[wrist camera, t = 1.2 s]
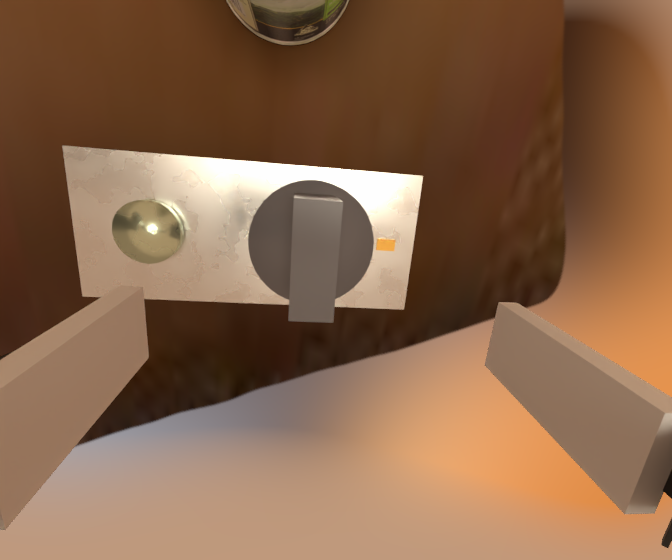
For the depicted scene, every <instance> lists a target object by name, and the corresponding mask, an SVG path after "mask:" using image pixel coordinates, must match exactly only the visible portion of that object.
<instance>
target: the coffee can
mask: <svg viewBox="0 0 672 560" xmlns="http://www.w3.org/2000/svg"><path fill="white" fill-rule="evenodd" d="M226 1H227V3H228V5H229V6H230V8H231V10H232V11H233V13H234V14H235V15H236V17H237V18H238V19H239V20H240V21H241V22H242V23H243V24H244V25H245V26H246V27H247V28H248V29H249V30H250V31H252V32H253V33H254V34H256V35H257V36H259V37H261V38H263V39H265V40H267V41H270V42H272V43H276V44H281V45H300V44H305V43H309V42H311V41H314V40H316V39H318V38H319V37H321V36H323V35H324V34H325V33H327V32H328V31H329V30H330V29H331V28H332V27H333V26H334V25H335V24H336V23H337V21H338V20H339V18H340V17H341V16H342V14H343V12H344V11H345V9H346V7H347V4H348V2H349V0H226Z"/></svg>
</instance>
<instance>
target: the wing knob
mask: <svg viewBox="0 0 672 560" xmlns="http://www.w3.org/2000/svg"><path fill="white" fill-rule="evenodd" d="M248 248H249V254H250V259H251V262H252V265H253V267H254V269H255V271H256V273H257V274H258V276H259V277H260V279H261V280H262V281H263V282H264V283H265V285H266V286H267V287H269V288H270V289H271V290H272V291H273V292H275V293H276V294H278V295H279V296H281V297H283V298H285V299H288V300H289V318H288V321H300V322H328V323H333V320H334V308H335V299H337V298H339V297H341V296H343V295H344V294H346V293H347V292H349V291H350V290H351V289H353V288H354V287H355V286H356V285H357V284H358V283H359V281H360V280H361V279H362V278H363V276H364V274H365V273H366V271H367V269H368V267H369V265H370V262H371V259H372V255H373V249H374V237H373V230H372V225H371V223H370V220H369V217H368V215H367V213H366V211H365V210H364V208H363V207H362V205H361V204H360V203H359V202H358V201H357V200H356V199H355V197H353V196H352V195H351V194H350V193H348V192H347V191H345V190H344V189H342V188H341V187H338V186H336V185H334V184H331V183H328V182H325V181H320V180H300V181H296V182H292V183H289V184H287V185H285V186H283V187H281V188H279V189H277V190H276V191H275V192H273V193H272V194H271V195H270V196H268V197H267V198H266V199H265V201H264V202H263V203H262V204H261V205H260V207H259V208H258V209H257V211H256V213H255V215H254V217H253V220H252V222H251V225H250V230H249V236H248Z"/></svg>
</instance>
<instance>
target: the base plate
mask: <svg viewBox="0 0 672 560" xmlns="http://www.w3.org/2000/svg"><path fill="white" fill-rule="evenodd" d="M62 147H63V154H64V162H65V169H66V177H67V184H68V192H69V199H70V207H71V214H72V222H73V229H74V237H75V244H76V252H77V259H78V267H79V274H80V282H81V289H82V296H84V297H102V296H104V295H106V294H107V293H109V292H111V291H112V290H114V289H115V288H117V287H119V286H136V287H143V293H144V299H158V300H182V301H207V302H232V303H256V304H281V305H289V300H288V299H285V298H283V297H281V296H279V295H278V294H276V293H275V292H273V291H272V290H271V289H270V288H269V287H267V286H266V285H265V283H264V282H263V281H262V280H261V279H260V277H259V276H258V274H257V273H256V271H255V269H254V267H253V265H252V262H251V259H250V254H249V248H248V236H249V230H250V225H251V222H252V220H253V217H254V215H255V213H256V211H257V209H258V208H259V207H260V205H261V204H262V203H263V202H264V201H265V199H266V198H267V197H268V196H270V195H271V194H272V193H273V192H275V191H276V190H277V189H279V188H281V187H283V186H285V185H287V184H289V183H292V182H296V181H300V180H320V181H325V182H328V183H331V184H334V185H336V186H338V187H341V188H342V189H344V190H345V191H347V192H348V193H350V194H351V195H352V196H353V197H355V199H356V200H357V201H358V202H359V203H360V204H361V205H362V207H363V208H364V210H365V211H366V213H367V215H368V217H369V220H370V223H371V225H372V230H373V237H374V249H373V255H372V259H371V262H370V265H369V267H368V269H367V271H366V273H365V274H364V276H363V278H362V279H361V280H360V281H359V283H358V284H357V285H356V286H355V287H354V288H353V289H351V290H350V291H349V292H347V293H346V294H344V295H343V296H341V297H339V298H337V299H335V307H355V308H379V309H404V306H405V299H406V292H407V285H408V278H409V271H410V264H411V257H412V250H413V243H414V236H415V229H416V222H417V215H418V208H419V201H420V194H421V187H422V180H423V176H418V175H406V174H394V173H382V172H370V171H358V170H347V169H335V168H323V167H311V166H299V165H287V164H275V163H263V162H251V161H240V160H228V159H216V158H204V157H192V156H180V155H168V154H156V153H145V152H133V151H121V150H109V149H97V148H85V147H73V146H62Z"/></svg>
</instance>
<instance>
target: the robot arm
mask: <svg viewBox="0 0 672 560" xmlns="http://www.w3.org/2000/svg"><path fill="white" fill-rule="evenodd" d="M148 358H149V353H148V341H147V329H146V317H145V305H144V293H143V287H136V286H119V287H117V288H115V289H114V290H112V291H111V292H109V293H107V294H106V295H104V296H102V297H101V298H99V299H98V300H96V301H94V302H93V303H91V304H90V305H88V306H86V307H85V308H83V309H81V310H80V311H78V312H77V313H75V314H73V315H72V316H70V317H69V318H67V319H65V320H64V321H62V322H61V323H59V324H57V325H56V326H54V327H52V328H51V329H49V330H48V331H46V332H44V333H43V334H41V335H40V336H38V337H36V338H35V339H33V340H31V341H30V342H28V343H27V344H25V345H23V346H22V347H20V348H19V349H17V350H15V351H13V352H11V353H8V354H6V355H3V356H0V530H6V528H7V527H8V526H9V525H10V523H11V522H12V521H13V520H14V519H15V518H16V516H17V515H18V514H19V513H20V512H21V510H22V509H23V508H24V507H25V505H26V504H27V503H28V502H29V501H30V499H31V498H32V497H33V496H34V495H35V494H36V492H37V491H38V490H39V488H41V486H42V485H43V484H44V483H45V482H46V480H47V479H48V478H49V477H50V476H51V474H52V473H53V472H54V471H55V470H56V468H57V467H58V466H59V465H60V464H61V462H62V461H63V460H64V459H65V458H66V456H67V455H68V454H69V453H70V452H71V450H72V449H73V448H74V447H75V446H76V444H77V443H78V442H79V441H80V440H81V438H82V437H83V436H84V435H85V434H86V432H87V431H88V430H89V429H90V428H91V426H92V425H93V424H94V423H95V422H96V420H97V419H98V418H99V417H100V416H101V414H102V413H103V412H104V411H105V410H106V408H107V407H108V406H109V405H110V404H111V402H112V401H113V400H114V399H115V398H116V396H117V395H118V394H119V393H120V392H121V390H122V389H123V388H124V387H125V386H126V384H127V383H128V382H129V381H130V380H131V378H132V377H133V376H134V375H135V374H136V372H137V371H138V370H139V369H140V368H141V366H142V365H143V364H144V363H145V361H146V360H147V359H148ZM485 366H486V367H487V368H488V369H489V370H490V371H491V372H492V373H493V375H494V376H495V377H496V378H497V379H498V380H499V381H500V382H501V383H502V384H503V385H504V386H505V387H506V388H507V389H508V390H509V392H510V393H511V394H512V395H513V396H514V397H515V398H516V399H517V400H518V401H519V402H520V403H521V404H522V405H523V406H524V407H525V409H526V410H527V411H528V412H529V413H530V414H531V415H532V416H533V417H534V418H535V419H536V420H537V421H538V422H539V423H540V425H541V426H542V427H543V428H544V429H545V430H546V431H547V432H548V433H549V434H550V435H551V436H552V437H553V438H554V439H555V440H556V441H557V443H558V444H559V445H560V446H561V447H562V448H563V449H564V450H565V451H566V452H567V453H568V454H569V455H570V456H571V458H572V459H573V460H574V461H575V462H576V463H577V464H578V465H579V466H580V467H581V468H582V469H583V470H584V471H585V472H586V473H587V474H588V476H589V477H590V478H591V479H592V480H593V481H594V482H595V483H596V484H597V485H598V486H599V487H600V488H601V489H602V491H603V492H604V493H605V494H606V495H607V496H608V497H609V498H610V499H611V500H612V501H613V502H614V503H615V504H616V505H617V506H618V508H619V509H620V510H621V511H622V512H623V513H624V514H649V513H655V511H656V509H657V506H658V504H659V502H660V499H661V497H662V495H663V492H665V493H666V494H667V495H668V496H669V497H671V498H672V397H670V396H668V395H667V394H665V393H664V392H662V391H660V390H659V389H657V388H655V387H654V386H652V385H650V384H649V383H647V382H646V381H644V380H642V379H641V378H639V377H637V376H636V375H634V374H632V373H631V372H629V371H628V370H626V369H624V368H623V367H621V366H619V365H617V364H616V363H614V362H613V361H611V360H609V359H608V358H606V357H605V356H603V355H601V354H600V353H598V352H597V351H595V350H593V349H592V348H590V347H588V346H586V345H585V344H583V343H582V342H580V341H578V340H577V339H575V338H574V337H572V336H570V335H569V334H567V333H565V332H564V331H562V330H560V329H559V328H557V327H555V326H554V325H552V324H551V323H549V322H547V321H546V320H544V319H542V318H541V317H539V316H538V315H536V314H534V313H533V312H531V311H530V310H528V309H526V308H525V307H523V306H521V305H520V304H518V303H507V302H499V303H498V307H497V312H496V316H495V321H494V326H493V331H492V335H491V339H490V344H489V348H488V353H487V358H486V362H485ZM671 541H672V519H671V521H670V523H669V525H668V528H667V530H666V532H665V534H664V537H663V539H662V545H663V546H665V547H667V548H668V547H669V545H670V543H671Z"/></svg>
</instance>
